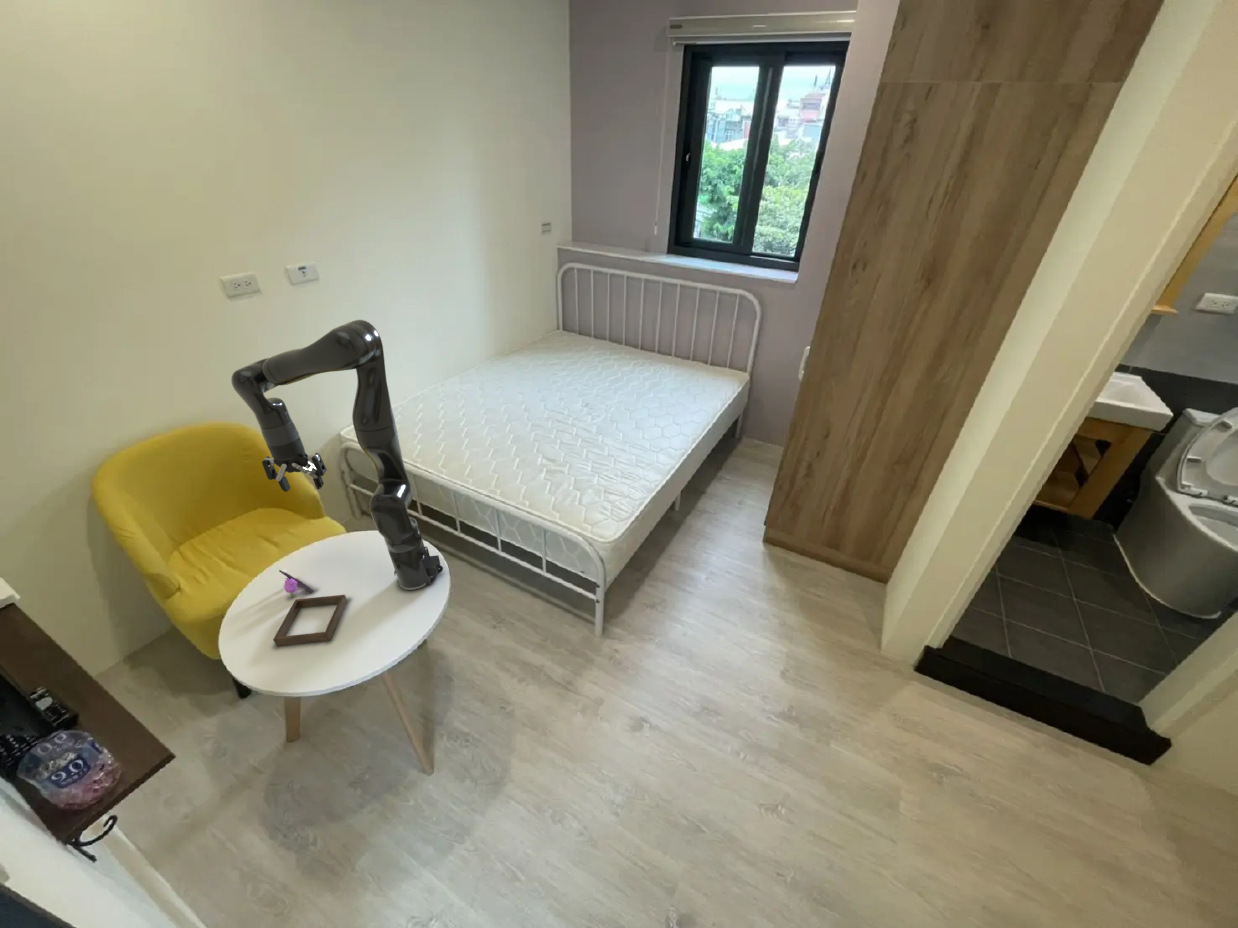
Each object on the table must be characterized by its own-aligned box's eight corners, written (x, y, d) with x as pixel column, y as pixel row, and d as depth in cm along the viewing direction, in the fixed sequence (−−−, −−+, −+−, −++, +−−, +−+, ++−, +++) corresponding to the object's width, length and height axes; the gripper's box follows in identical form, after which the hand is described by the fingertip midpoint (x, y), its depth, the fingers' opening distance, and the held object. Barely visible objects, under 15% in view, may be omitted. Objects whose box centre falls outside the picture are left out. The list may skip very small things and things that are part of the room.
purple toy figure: (301, 578, 141) (281, 567, 145) (286, 594, 138) (266, 583, 142) (316, 588, 146) (296, 578, 150) (302, 604, 143) (282, 593, 147)
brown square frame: (347, 601, 142) (344, 594, 141) (330, 640, 131) (327, 633, 130) (298, 605, 141) (295, 599, 140) (276, 646, 130) (272, 639, 128)
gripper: (246, 447, 128) (270, 499, 136) (305, 442, 129) (326, 494, 138) (260, 432, 134) (282, 483, 143) (316, 429, 135) (335, 479, 144)
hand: (304, 488), depth 140 cm, fingers open, 8 cm apart
